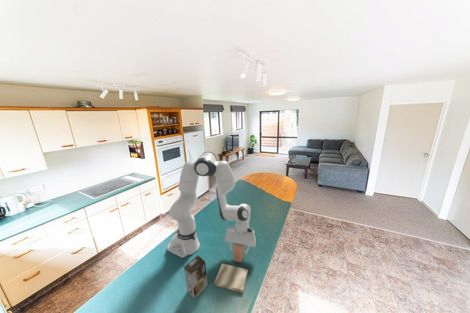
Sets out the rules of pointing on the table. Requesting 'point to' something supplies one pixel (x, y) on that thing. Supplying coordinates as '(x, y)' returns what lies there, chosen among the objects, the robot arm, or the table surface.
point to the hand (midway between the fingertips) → (238, 252)
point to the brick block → (238, 252)
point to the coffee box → (196, 276)
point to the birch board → (231, 277)
